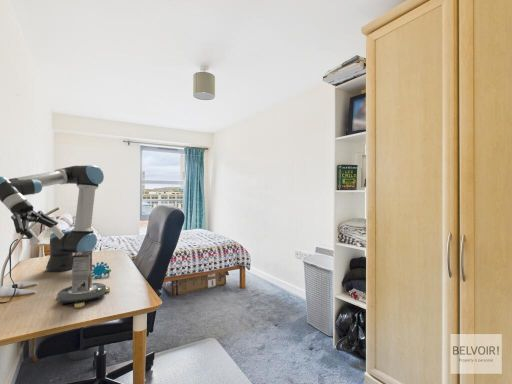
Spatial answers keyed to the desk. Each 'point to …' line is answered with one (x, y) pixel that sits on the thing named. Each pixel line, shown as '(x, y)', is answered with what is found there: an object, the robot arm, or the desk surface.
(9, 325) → the desk surface
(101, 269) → the gear
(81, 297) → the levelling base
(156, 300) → the desk surface
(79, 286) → the coffee box
